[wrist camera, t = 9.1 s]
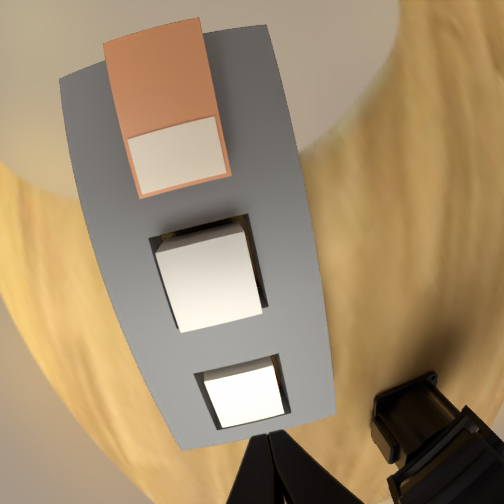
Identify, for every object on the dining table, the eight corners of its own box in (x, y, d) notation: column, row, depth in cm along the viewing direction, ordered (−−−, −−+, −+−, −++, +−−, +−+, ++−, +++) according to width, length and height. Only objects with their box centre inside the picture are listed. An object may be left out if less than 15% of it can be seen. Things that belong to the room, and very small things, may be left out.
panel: (257, 45, 16) (269, 17, 12) (323, 389, 22) (340, 422, 18) (79, 91, 15) (51, 74, 11) (182, 423, 21) (181, 459, 18)
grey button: (237, 221, 17) (244, 231, 14) (253, 291, 18) (262, 313, 15) (164, 239, 16) (155, 253, 14) (184, 307, 17) (180, 332, 15)
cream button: (264, 340, 20) (273, 365, 17) (275, 386, 21) (284, 413, 18) (203, 354, 20) (204, 381, 17) (220, 399, 21) (222, 427, 18)
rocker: (198, 24, 11) (199, 16, 10) (228, 170, 14) (232, 176, 13) (109, 48, 11) (101, 43, 9) (143, 192, 14) (139, 200, 13)
